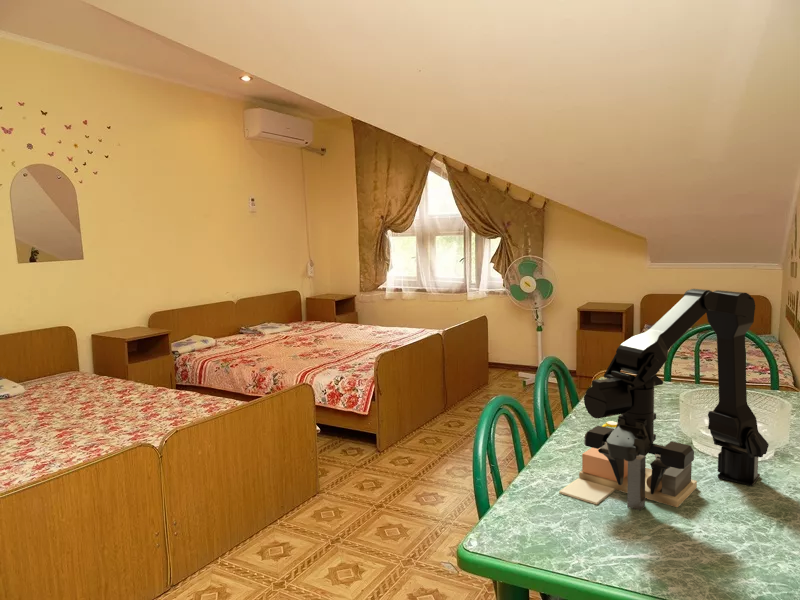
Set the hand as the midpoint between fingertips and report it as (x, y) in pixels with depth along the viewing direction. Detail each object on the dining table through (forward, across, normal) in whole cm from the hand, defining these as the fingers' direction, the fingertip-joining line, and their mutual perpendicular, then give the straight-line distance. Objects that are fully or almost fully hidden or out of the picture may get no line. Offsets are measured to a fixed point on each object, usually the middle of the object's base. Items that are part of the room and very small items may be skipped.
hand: (636, 488), depth 111 cm
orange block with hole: (+2, -9, +10) cm, 14 cm away
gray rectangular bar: (+4, 0, 0) cm, 4 cm away
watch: (+4, -17, +27) cm, 32 cm away
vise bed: (+4, -4, +10) cm, 11 cm away
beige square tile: (+4, -10, 0) cm, 11 cm away
